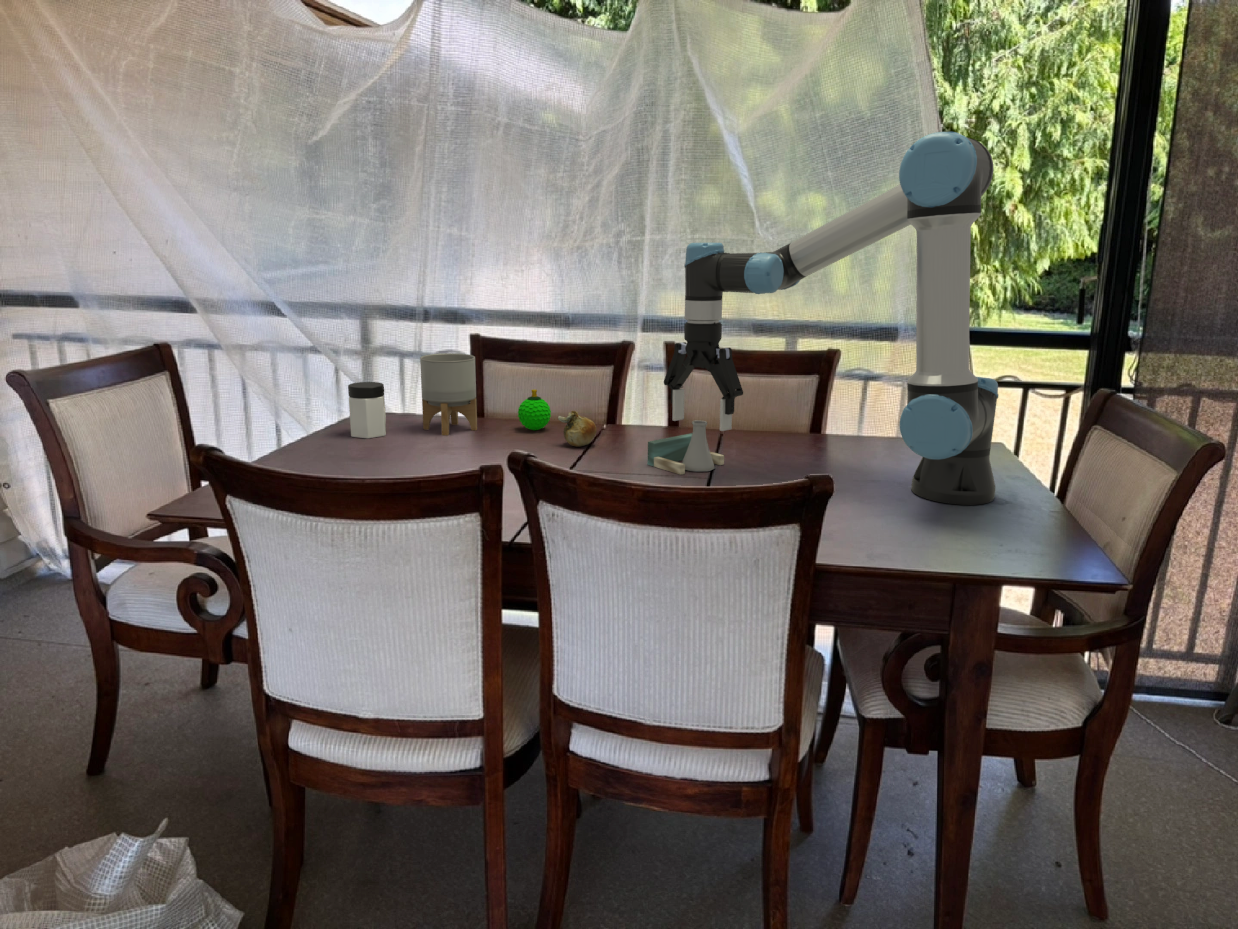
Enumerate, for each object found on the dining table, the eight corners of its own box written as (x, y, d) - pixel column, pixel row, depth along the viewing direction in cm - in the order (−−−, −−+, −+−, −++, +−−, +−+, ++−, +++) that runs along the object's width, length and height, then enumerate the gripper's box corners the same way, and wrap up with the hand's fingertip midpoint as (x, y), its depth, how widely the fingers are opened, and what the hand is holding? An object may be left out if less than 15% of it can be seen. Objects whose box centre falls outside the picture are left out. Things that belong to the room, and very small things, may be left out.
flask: (713, 474, 184) (715, 426, 182) (678, 471, 186) (679, 424, 183) (716, 465, 191) (718, 419, 188) (683, 462, 192) (684, 417, 190)
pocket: (723, 464, 191) (725, 441, 190) (680, 474, 183) (681, 451, 182) (690, 455, 199) (691, 433, 197) (647, 464, 190) (647, 441, 189)
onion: (577, 451, 200) (577, 416, 198) (555, 444, 206) (555, 410, 204) (603, 446, 205) (603, 412, 203) (581, 440, 211) (581, 406, 209)
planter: (472, 436, 213) (469, 361, 209) (417, 435, 213) (414, 360, 209) (481, 424, 226) (479, 353, 221) (429, 423, 226) (426, 352, 221)
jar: (386, 438, 210) (383, 387, 207) (349, 439, 208) (346, 388, 205) (387, 429, 218) (384, 380, 215) (352, 430, 217) (349, 381, 213)
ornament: (522, 425, 225) (522, 386, 222) (554, 427, 224) (554, 387, 221) (514, 433, 217) (513, 392, 214) (547, 434, 216) (546, 393, 213)
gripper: (763, 324, 173) (759, 431, 179) (673, 316, 192) (672, 413, 197) (737, 327, 169) (734, 437, 174) (647, 318, 187) (647, 418, 192)
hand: (701, 424), depth 186 cm, fingers open, 13 cm apart
